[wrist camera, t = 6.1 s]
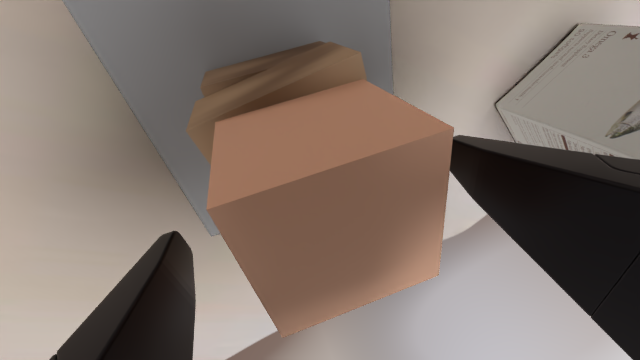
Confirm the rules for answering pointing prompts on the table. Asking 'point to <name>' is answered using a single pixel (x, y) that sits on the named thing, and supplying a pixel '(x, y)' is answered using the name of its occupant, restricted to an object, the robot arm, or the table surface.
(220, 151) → the terracotta block
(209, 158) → the tower top
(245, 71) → the block
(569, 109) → the supplement box
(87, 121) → the table surface
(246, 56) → the felt mat
